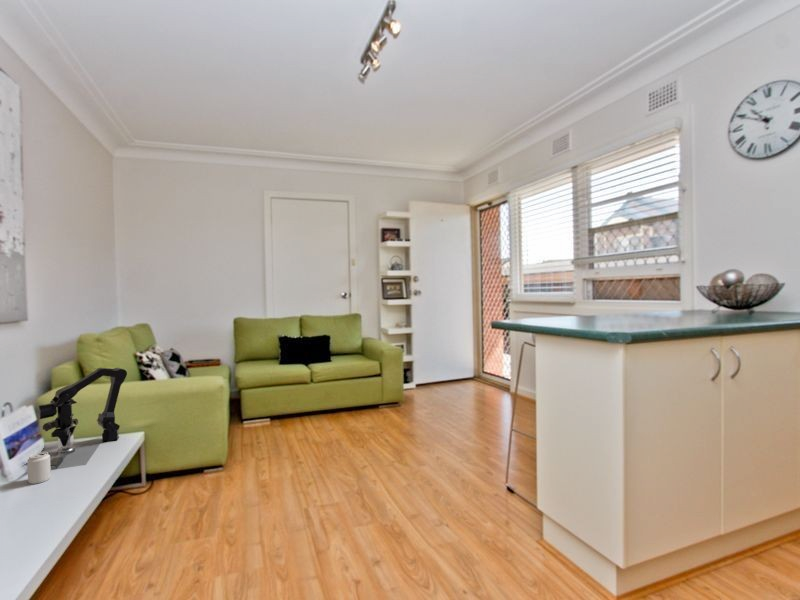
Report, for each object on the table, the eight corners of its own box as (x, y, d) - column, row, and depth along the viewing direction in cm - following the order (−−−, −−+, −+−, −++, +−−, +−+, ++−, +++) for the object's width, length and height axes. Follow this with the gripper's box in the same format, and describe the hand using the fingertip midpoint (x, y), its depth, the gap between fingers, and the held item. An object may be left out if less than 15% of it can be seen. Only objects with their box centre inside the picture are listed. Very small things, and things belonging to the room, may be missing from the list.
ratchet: (77, 448, 213) (76, 439, 212) (60, 468, 190) (60, 458, 190) (60, 450, 210) (59, 442, 210) (41, 471, 188) (41, 461, 187)
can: (55, 477, 183) (54, 451, 182) (39, 485, 175) (38, 458, 175) (40, 476, 184) (39, 450, 183) (23, 484, 176) (22, 457, 175)
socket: (73, 443, 211) (73, 433, 211) (70, 447, 207) (70, 437, 206) (61, 445, 209) (61, 435, 209) (58, 448, 205) (57, 438, 204)
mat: (100, 443, 220) (100, 442, 220) (85, 465, 194) (85, 464, 194) (58, 449, 212) (58, 448, 212) (37, 472, 187) (37, 471, 187)
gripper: (51, 410, 212) (52, 439, 213) (37, 422, 195) (38, 454, 196) (78, 407, 217) (79, 436, 218) (66, 418, 200) (67, 450, 201)
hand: (66, 444), depth 208 cm, fingers closed on socket, 5 cm apart
